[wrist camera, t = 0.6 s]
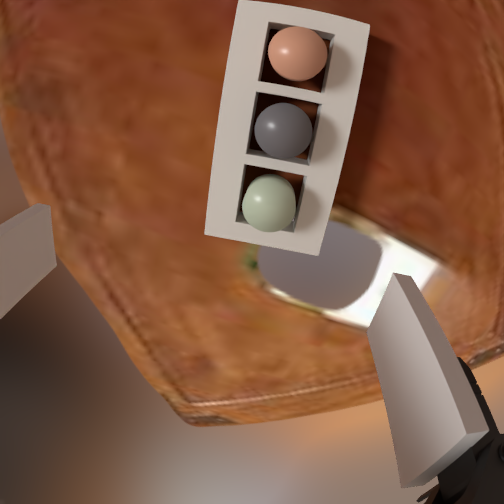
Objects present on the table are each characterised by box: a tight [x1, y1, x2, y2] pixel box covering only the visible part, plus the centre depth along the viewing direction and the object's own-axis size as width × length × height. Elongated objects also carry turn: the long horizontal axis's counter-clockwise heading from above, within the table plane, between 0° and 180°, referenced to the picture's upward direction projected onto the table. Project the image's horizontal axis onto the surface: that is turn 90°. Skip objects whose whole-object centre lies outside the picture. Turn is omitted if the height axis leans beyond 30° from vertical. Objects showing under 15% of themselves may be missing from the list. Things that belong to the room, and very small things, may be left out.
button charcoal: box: [255, 103, 312, 159], centre depth 26 cm, size 5×5×3 cm
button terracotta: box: [268, 26, 327, 81], centre depth 22 cm, size 5×5×3 cm
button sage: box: [242, 174, 296, 232], centre depth 29 cm, size 5×5×3 cm
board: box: [205, 0, 370, 256], centre depth 28 cm, size 24×12×3 cm, turn 171°
